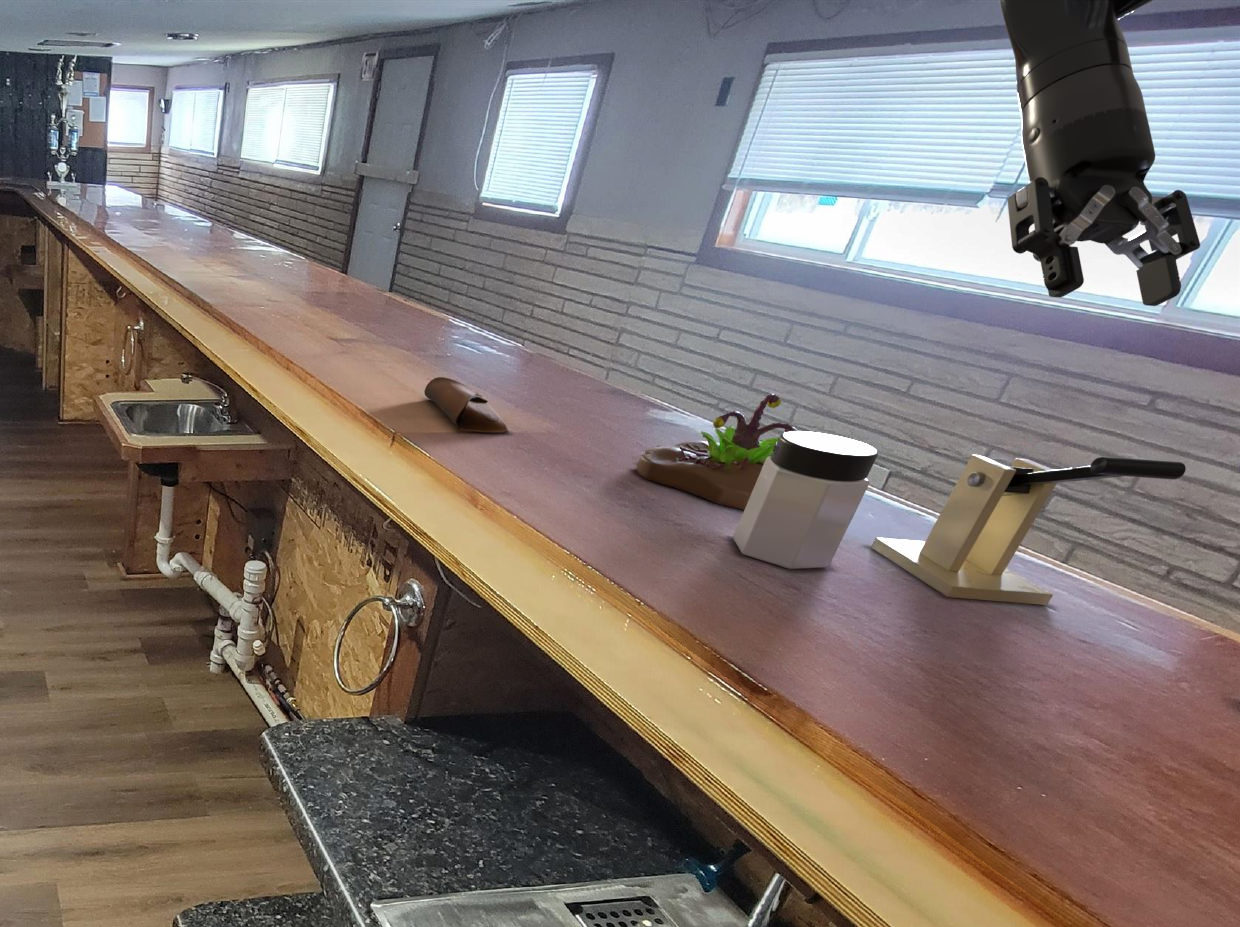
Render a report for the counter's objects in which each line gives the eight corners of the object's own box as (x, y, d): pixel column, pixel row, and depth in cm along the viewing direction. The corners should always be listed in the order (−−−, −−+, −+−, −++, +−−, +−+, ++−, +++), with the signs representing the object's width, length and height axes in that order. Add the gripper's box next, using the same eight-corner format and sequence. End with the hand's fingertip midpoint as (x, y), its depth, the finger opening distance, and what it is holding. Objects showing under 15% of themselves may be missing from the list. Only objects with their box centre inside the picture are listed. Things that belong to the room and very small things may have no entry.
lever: (1183, 484, 74) (1189, 455, 73) (1104, 478, 74) (1110, 449, 74) (1023, 497, 88) (1028, 473, 87) (958, 492, 88) (962, 468, 88)
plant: (860, 500, 110) (904, 410, 104) (764, 522, 102) (806, 426, 97) (705, 452, 125) (736, 371, 120) (611, 467, 118) (640, 381, 112)
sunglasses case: (514, 431, 129) (500, 389, 126) (466, 453, 130) (451, 413, 128) (474, 398, 144) (461, 361, 141) (432, 418, 146) (418, 382, 143)
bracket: (1047, 605, 86) (1121, 489, 80) (947, 597, 87) (1013, 481, 81) (958, 554, 96) (1018, 448, 90) (870, 547, 97) (924, 441, 91)
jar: (783, 536, 99) (832, 430, 93) (847, 568, 92) (904, 455, 86) (712, 538, 97) (756, 430, 91) (771, 571, 90) (824, 456, 84)
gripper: (1051, 97, 77) (1083, 262, 74) (1211, 112, 78) (1250, 277, 74) (966, 161, 85) (991, 314, 81) (1112, 174, 85) (1144, 327, 81)
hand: (1115, 296), depth 78 cm, fingers open, 8 cm apart
